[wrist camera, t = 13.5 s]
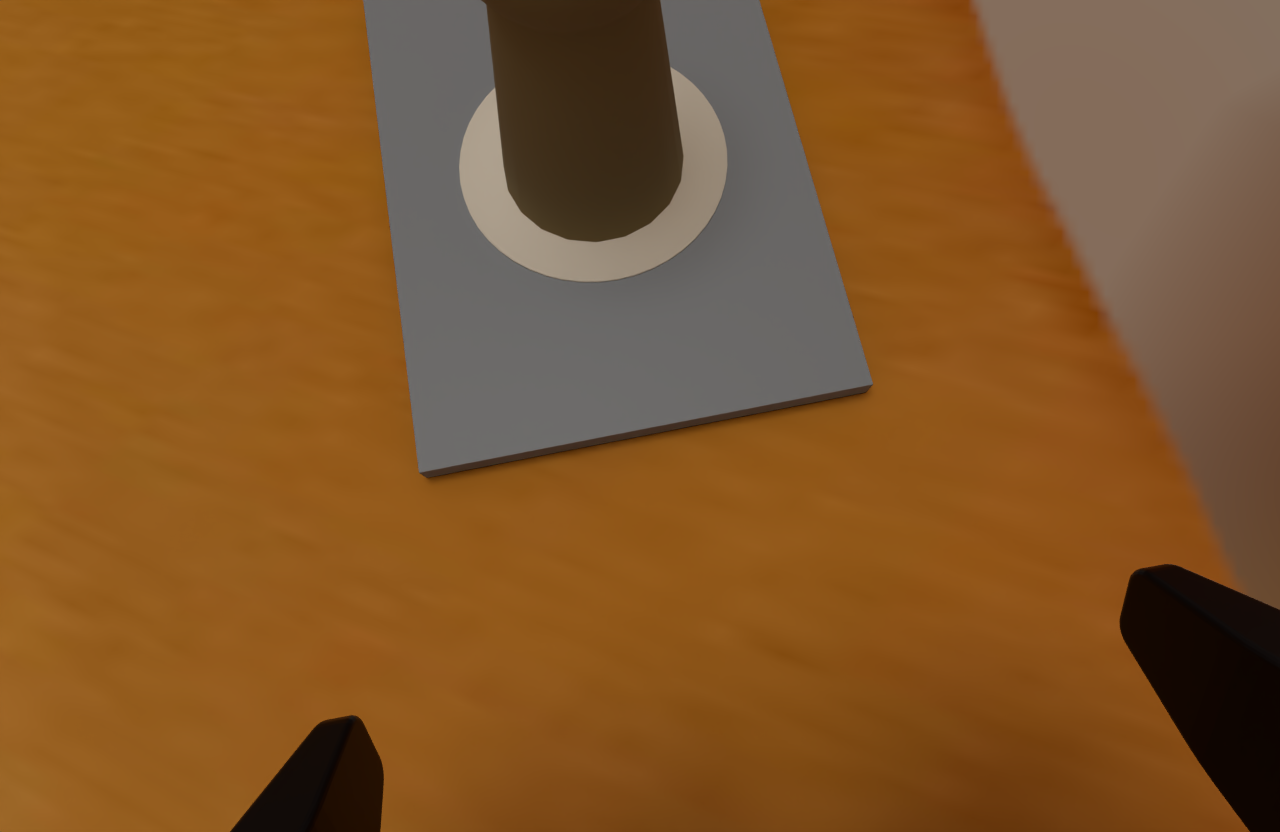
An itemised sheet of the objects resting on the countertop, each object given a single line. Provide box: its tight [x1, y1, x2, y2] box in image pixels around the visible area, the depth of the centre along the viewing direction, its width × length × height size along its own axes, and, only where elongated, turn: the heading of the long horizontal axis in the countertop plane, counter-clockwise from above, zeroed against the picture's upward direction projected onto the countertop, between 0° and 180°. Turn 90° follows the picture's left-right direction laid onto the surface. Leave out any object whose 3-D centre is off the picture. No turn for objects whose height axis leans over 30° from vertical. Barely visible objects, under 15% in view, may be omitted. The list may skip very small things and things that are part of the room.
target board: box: [363, 0, 873, 478], centre depth 26 cm, size 19×14×1 cm
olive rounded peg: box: [481, 0, 684, 242], centre depth 20 cm, size 6×6×11 cm
